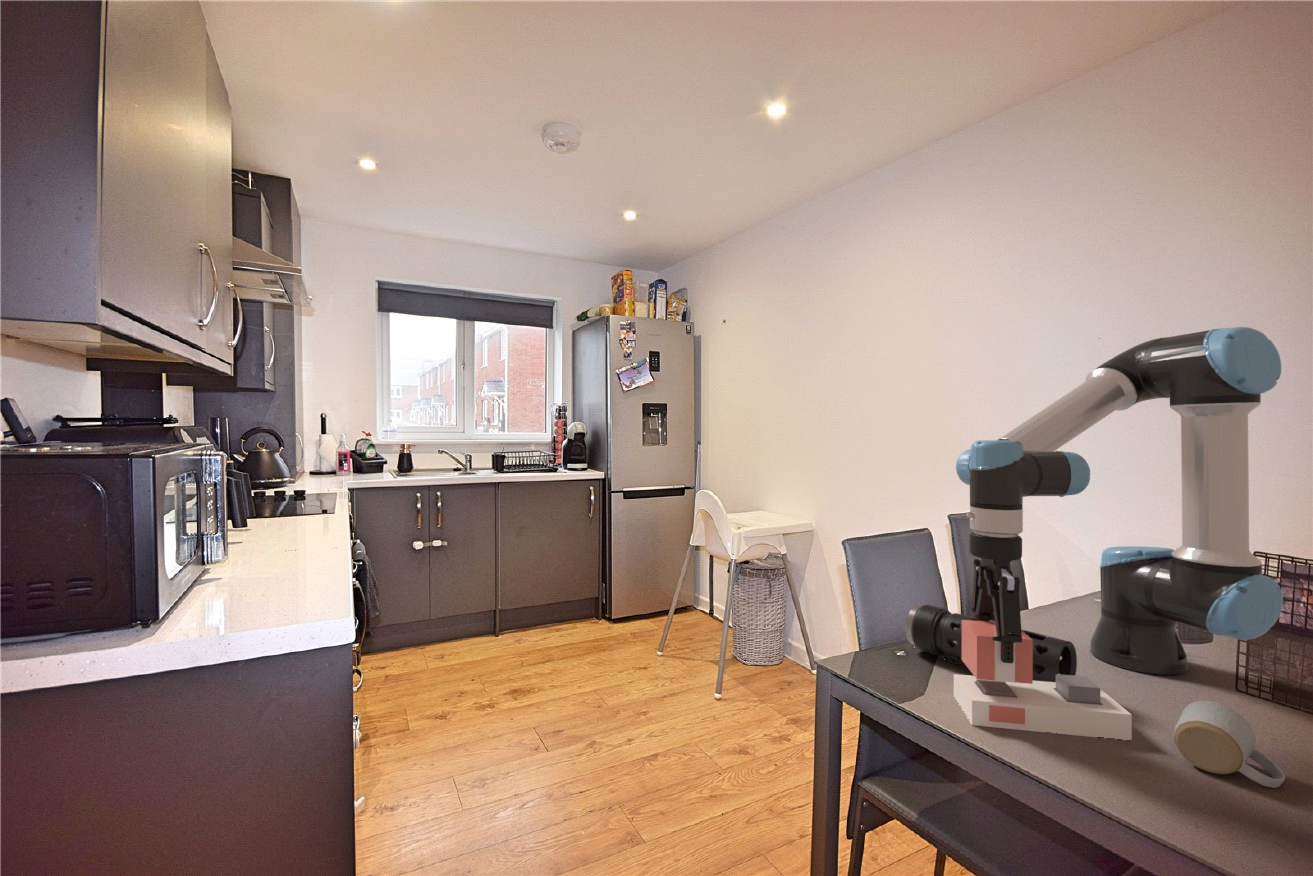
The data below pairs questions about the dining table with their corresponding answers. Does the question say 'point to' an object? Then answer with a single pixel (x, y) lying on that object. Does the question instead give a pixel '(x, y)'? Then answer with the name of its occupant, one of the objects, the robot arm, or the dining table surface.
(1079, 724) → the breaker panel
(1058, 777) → the dining table surface
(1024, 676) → the salmon red cube
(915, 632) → the muzzle brake
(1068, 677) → the button plain
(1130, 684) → the dining table surface
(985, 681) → the button tagged
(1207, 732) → the ceramic mug
